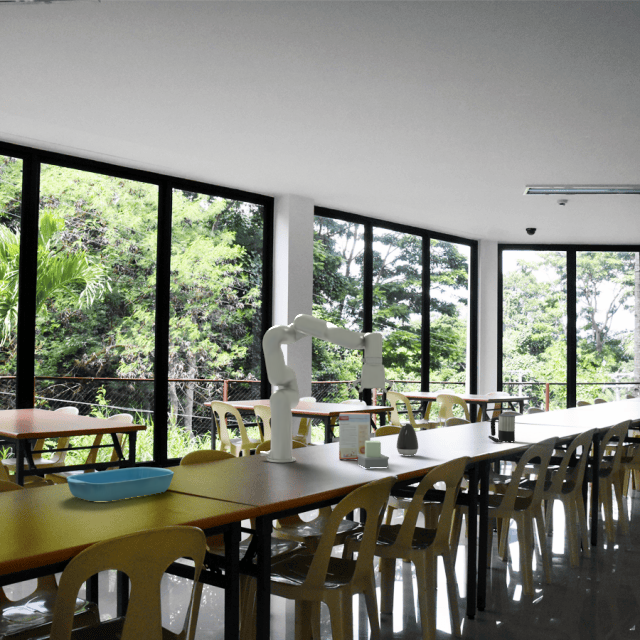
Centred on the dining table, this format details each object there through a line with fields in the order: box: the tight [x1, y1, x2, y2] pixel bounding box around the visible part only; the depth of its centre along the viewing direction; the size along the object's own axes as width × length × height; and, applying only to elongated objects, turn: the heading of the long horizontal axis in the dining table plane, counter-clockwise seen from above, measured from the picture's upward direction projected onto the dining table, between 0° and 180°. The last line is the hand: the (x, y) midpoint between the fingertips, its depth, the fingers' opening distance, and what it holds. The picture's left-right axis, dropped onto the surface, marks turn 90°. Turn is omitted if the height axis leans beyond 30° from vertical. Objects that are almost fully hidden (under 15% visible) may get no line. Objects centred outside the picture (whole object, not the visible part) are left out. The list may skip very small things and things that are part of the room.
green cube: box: [365, 440, 382, 457], centre depth 289 cm, size 6×6×6 cm
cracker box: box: [338, 412, 371, 460], centre depth 309 cm, size 14×6×21 cm, turn 84°
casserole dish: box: [66, 466, 175, 502], centre depth 228 cm, size 37×22×7 cm, turn 140°
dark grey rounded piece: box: [396, 422, 419, 456], centre depth 323 cm, size 10×10×15 cm
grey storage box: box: [357, 453, 390, 468], centre depth 289 cm, size 11×11×5 cm
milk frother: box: [487, 413, 516, 443], centre depth 378 cm, size 14×16×15 cm
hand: (372, 401), depth 290 cm, fingers open, 9 cm apart
